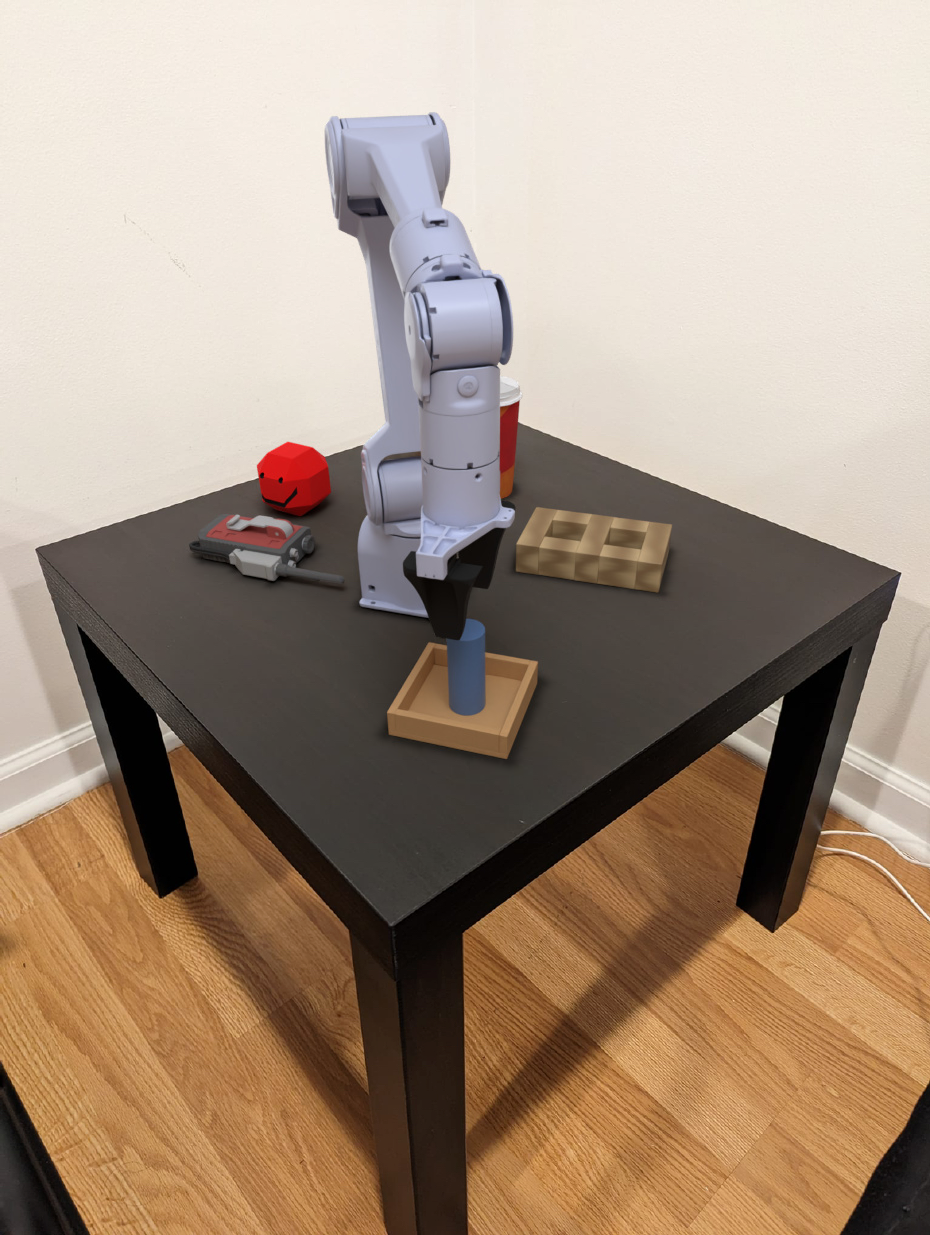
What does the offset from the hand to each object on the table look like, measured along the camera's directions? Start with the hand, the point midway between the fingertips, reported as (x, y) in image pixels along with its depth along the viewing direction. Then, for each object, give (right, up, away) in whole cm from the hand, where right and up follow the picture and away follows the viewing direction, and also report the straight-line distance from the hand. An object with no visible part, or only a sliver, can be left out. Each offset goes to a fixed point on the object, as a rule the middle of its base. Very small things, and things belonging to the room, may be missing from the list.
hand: (463, 609), depth 71 cm
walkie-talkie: (-21, +5, +27) cm, 35 cm away
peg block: (+14, +6, +26) cm, 30 cm away
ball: (-21, +13, +39) cm, 46 cm away
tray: (0, -9, +6) cm, 10 cm away
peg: (0, -8, +5) cm, 10 cm away
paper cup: (+3, +16, +41) cm, 44 cm away
